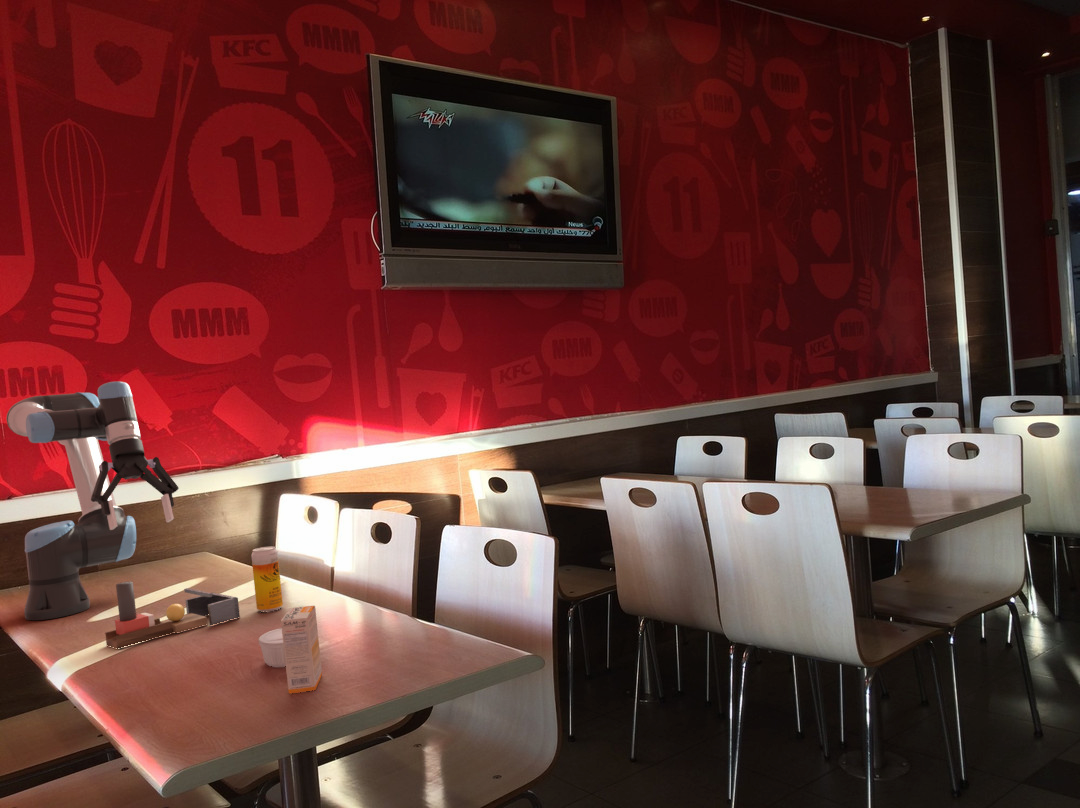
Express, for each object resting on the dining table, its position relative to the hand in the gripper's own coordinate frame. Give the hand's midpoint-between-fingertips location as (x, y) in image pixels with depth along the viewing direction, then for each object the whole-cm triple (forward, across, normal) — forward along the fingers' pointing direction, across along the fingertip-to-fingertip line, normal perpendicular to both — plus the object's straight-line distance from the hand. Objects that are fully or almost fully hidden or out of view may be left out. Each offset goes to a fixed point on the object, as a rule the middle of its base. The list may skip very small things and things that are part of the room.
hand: (142, 524), depth 212 cm
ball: (+23, 0, -6) cm, 24 cm away
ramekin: (+44, 0, -49) cm, 66 cm away
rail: (+28, -8, -5) cm, 29 cm away
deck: (+27, +2, -5) cm, 28 cm away
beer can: (+28, +21, -11) cm, 37 cm away
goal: (+27, +9, -5) cm, 29 cm away
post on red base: (+25, -9, -5) cm, 28 cm away
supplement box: (+50, -7, -64) cm, 81 cm away
